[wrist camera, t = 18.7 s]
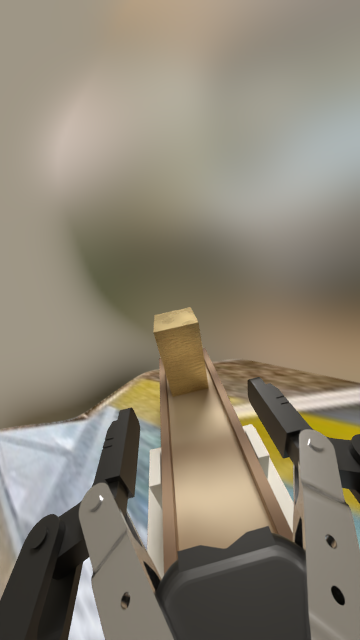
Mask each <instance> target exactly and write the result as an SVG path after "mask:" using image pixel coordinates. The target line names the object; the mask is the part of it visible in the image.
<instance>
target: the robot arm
mask: <svg viewBox="0 0 360 640" xmlns="http://www.w3.org/2000/svg"><path fill="white" fill-rule="evenodd" d="M248 398H249V401H250V403H251V405H252V407H253V408H254V410H255V412H256V413H257V415H258V417H259V419H260V420H261V422H262V424H263V425H264V427H265V429H266V430H267V432H268V434H269V435H270V437H271V439H272V440H273V442H274V444H275V446H276V447H277V449H278V451H279V452H280V454H281V456H282V457H283V458H287V457H290V459H291V460H292V462H293V482H294V512H293V541H291V540H290V539H288V538H286V537H284V536H282V535H279V534H276V533H271V531H270V528H269V526H266V527H263V528H259V529H255V530H252V531H248V532H246V533H245V534H244V535H242V536H241V537H240V538H239V539H237V540H236V541H235V542H234V543H233V544H231V545H230V546H229V547H228V548H225V549H223V548H216V547H210V546H204V545H198V546H195V547H191V548H188V549H184V550H181V551H177V552H178V559H177V560H176V561H175V562H174V563H173V564H172V565H171V566H170V567H169V569H168V570H167V571H166V573H165V574H164V576H163V578H162V579H161V577H160V575H159V573H158V571H157V569H156V567H155V565H154V563H153V561H152V559H151V557H150V556H149V554H148V552H147V551H146V549H145V547H144V545H143V543H142V541H141V539H140V536H139V534H138V532H137V530H136V528H135V526H134V524H133V522H132V520H131V518H130V516H129V514H128V512H127V501H128V499H129V498H132V497H134V494H135V483H136V471H137V460H138V448H139V437H140V425H139V421H138V419H137V417H136V414H135V412H134V410H133V408H128V409H124V410H120V412H119V416H118V420H117V421H113V422H112V424H111V425H110V427H109V429H108V430H107V434H106V438H105V442H104V446H103V450H102V453H101V457H100V461H99V465H98V468H97V472H96V476H95V480H94V483H93V485H92V488H90V490H89V491H88V492H87V493H86V494H85V496H84V498H83V500H82V501H81V502H80V503H79V504H77V505H76V506H74V507H73V508H71V509H70V510H68V511H67V512H65V513H64V514H62V515H61V516H59V517H58V516H56V515H54V514H50V515H47V516H45V517H44V518H42V519H41V520H40V521H39V522H38V523H37V524H36V525H35V526H34V527H33V529H32V530H31V531H30V533H29V534H28V536H27V538H26V540H25V542H24V544H23V546H22V549H21V551H20V554H19V556H18V559H17V561H16V563H15V566H14V568H13V571H12V573H11V576H10V578H9V581H8V583H7V585H6V588H5V590H4V593H3V595H2V598H1V600H0V640H68V636H69V631H70V626H71V621H72V616H73V610H74V605H75V600H76V595H77V590H78V585H79V580H80V575H81V570H82V565H83V561H85V560H86V559H87V558H88V557H90V560H91V564H92V568H93V575H92V579H91V581H92V589H93V593H94V597H95V601H96V605H97V609H98V613H99V617H100V621H101V625H102V629H103V633H104V637H105V640H360V549H359V544H358V540H357V535H356V530H355V525H354V520H353V516H352V512H351V509H350V507H349V505H348V504H346V502H345V500H344V496H343V491H342V488H347V489H349V490H350V491H351V492H352V494H353V495H354V496H355V498H356V499H357V501H358V502H359V503H360V434H358V435H355V436H353V438H352V440H343V439H333V438H328V437H325V436H324V435H323V434H321V433H319V432H317V431H315V430H313V429H312V428H311V427H310V426H309V425H308V424H307V422H306V421H305V420H304V419H303V418H302V417H301V415H300V414H299V413H298V412H297V411H296V409H295V408H294V407H293V406H292V405H291V404H290V403H289V401H288V400H287V399H286V398H285V397H284V395H283V394H282V393H281V392H280V390H279V389H278V388H276V387H275V386H273V385H272V384H270V383H269V384H265V383H264V382H263V380H262V379H261V378H260V377H257V378H253V379H249V380H248Z"/></svg>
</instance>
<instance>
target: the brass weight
mask: <svg viewBox="0 0 360 640" xmlns="http://www.w3.org/2000/svg"><path fill="white" fill-rule="evenodd" d="M154 335H155V339H156V342H157V346H158V349H159V353H160V356H161V359H162V363H163V366H164V370H165V373H166V377H167V380H168V383H169V387H170V390H171V394H172V397H174V396H179V395H183V394H187V393H191V392H196V391H200V390H204V389H208V388H209V386H208V379H207V373H206V367H205V361H204V354H203V348H202V342H201V336H200V329H199V323H198V321H197V319H196V317H195V315H194V313H193V311H192V309H191V308H190V307H189V308H185V309H180V310H176V311H171V312H167V313H162V314H158V315H155V317H154Z"/></svg>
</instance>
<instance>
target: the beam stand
mask: <svg viewBox="0 0 360 640" xmlns="http://www.w3.org/2000/svg"><path fill="white" fill-rule="evenodd" d="M243 429H244V431H245V433H246V436H247V438H248V440H249V442H250V444H251V446H252V448H253V450H254V452H255V455H256V457H257V459H258V461H259V463H260V465H261V467H262V469H263V471H264V474H265V476H266V478H267V480H268V482H269V484H270V486H271V488H272V490H273V493H274V495H275V497H276V499H277V501H278V503H279V505H280V507H281V509H282V512H283V514H284V516H285V518H286V520H287V522H288V524H289V526H290V528H291V531H292V533H293V512H294V503H293V501H292V499H291V497H290V495H289V493H288V491H287V490H286V488H285V486H284V484H283V482H282V480H281V478H280V476H279V474H278V473H277V471H276V469H275V467H274V465H273V463H272V461H271V459H270V458H269V453H268V451H267V450H266V448H265V446H264V444H263V442H262V440H261V438H260V437H259V435H258V433H257V431H256V429H255V428H254V427H253V426H252V424H251V425H247V426H243ZM147 552H148V554H149V556H150V557H151V559H152V561H153V563H154V565H155V567H156V569H157V571H158V573H159V575H160V577H161V579H162V578H163V576H164V556H163V509H162V462H161V447H160V448H156V449H152V450H150V469H149V506H148V538H147Z"/></svg>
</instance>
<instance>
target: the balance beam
mask: <svg viewBox="0 0 360 640" xmlns="http://www.w3.org/2000/svg"><path fill="white" fill-rule="evenodd" d="M203 354H204V361H205V367H206V373H207V379H208V386H209V388H208V389H204V390H200V391H196V392H191V393H187V394H183V395H179V396H174V397H172V394H171V390H170V387H169V383H168V380H167V377H166V373H165V370H164V366H163V363H162V359H161V358H159V366H160V414H161V462H162V509H163V556H164V574H165V573H166V571H167V570H168V569H169V567H170V566H171V565H172V564H173V563H174V562H175V561H176V560H177V559H178V552H177V551H181V550H184V549H188V548H191V547H195V546H198V545H204V546H210V547H216V548H223V549H225V548H228V547H229V546H230V545H231V544H233V543H234V542H235V541H236V540H237V539H239V538H240V537H241V536H242V535H244V534H245V533H246V532H248V531H252V530H255V529H259V528H263V527H266V526H269V528H270V531H271V533H276V534H279V535H282V536H284V537H286V538H288V539H290V540H291V541H293V533H292V531H291V528H290V526H289V524H288V522H287V520H286V518H285V516H284V514H283V512H282V509H281V507H280V505H279V503H278V501H277V499H276V497H275V495H274V493H273V490H272V488H271V486H270V484H269V482H268V480H267V478H266V476H265V474H264V471H263V469H262V467H261V465H260V463H259V461H258V459H257V457H256V455H255V452H254V450H253V448H252V446H251V444H250V442H249V440H248V438H247V436H246V433H245V431H244V429H243V427H242V425H241V423H240V421H239V419H238V417H237V414H236V412H235V410H234V408H233V406H232V404H231V402H230V400H229V398H228V395H227V393H226V391H225V389H224V387H223V385H222V383H221V381H220V379H219V376H218V374H217V372H216V370H215V368H214V366H213V364H212V362H211V360H210V358H209V355H208V353H207V351H206V349H205V348H203Z"/></svg>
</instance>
